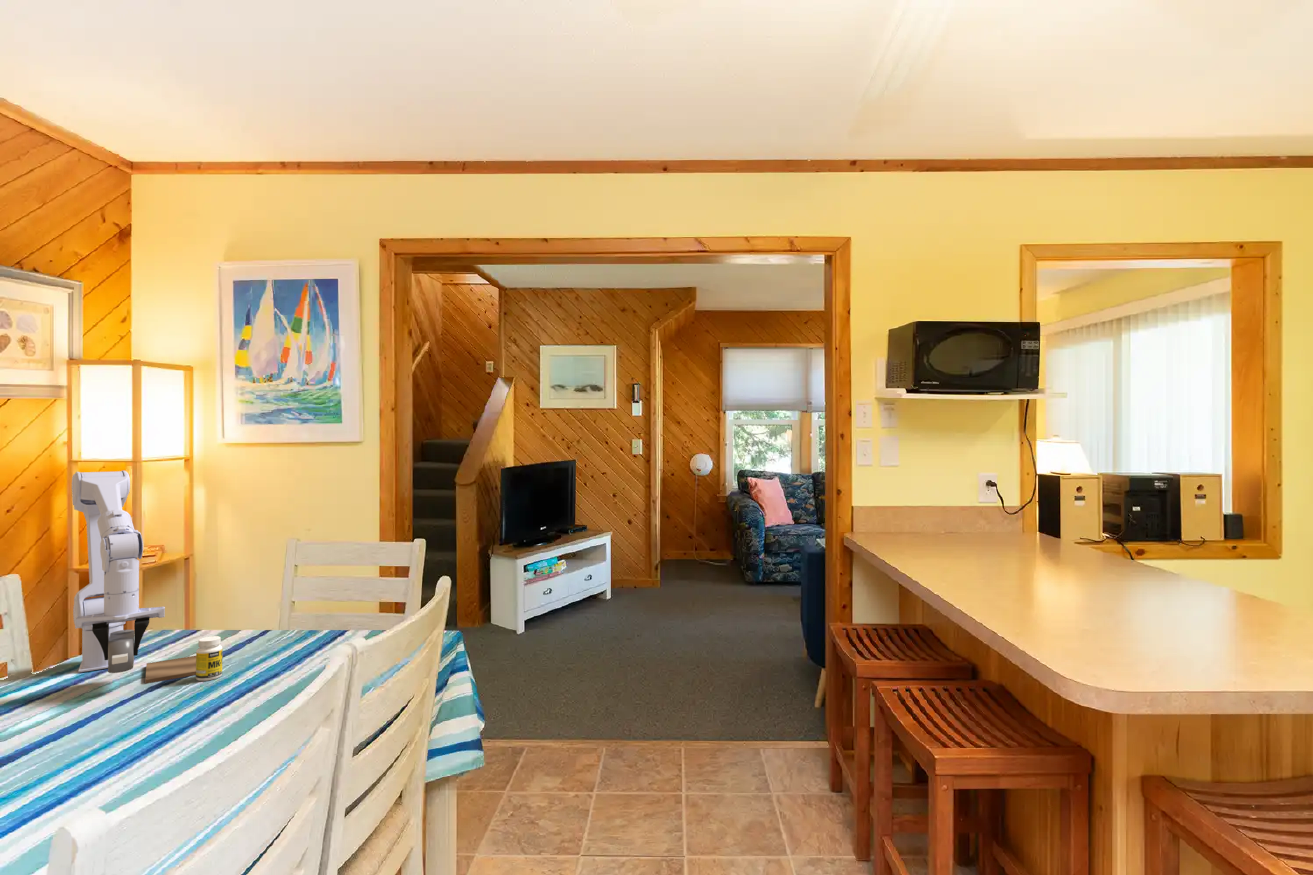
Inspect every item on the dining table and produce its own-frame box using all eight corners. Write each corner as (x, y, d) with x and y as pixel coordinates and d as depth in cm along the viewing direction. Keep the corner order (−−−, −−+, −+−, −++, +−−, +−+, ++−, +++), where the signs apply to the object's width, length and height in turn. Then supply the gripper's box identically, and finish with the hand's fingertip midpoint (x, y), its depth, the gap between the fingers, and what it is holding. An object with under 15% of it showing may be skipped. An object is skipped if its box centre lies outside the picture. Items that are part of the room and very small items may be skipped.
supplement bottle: (209, 682, 142) (209, 642, 142) (190, 680, 143) (190, 641, 143) (227, 674, 146) (227, 635, 146) (209, 672, 147) (209, 634, 147)
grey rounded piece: (110, 659, 143) (110, 631, 143) (134, 656, 145) (134, 628, 145) (106, 677, 132) (106, 646, 132) (132, 673, 135) (132, 643, 135)
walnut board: (146, 666, 151) (146, 663, 151) (210, 656, 158) (210, 653, 158) (145, 683, 141) (145, 679, 141) (213, 671, 148) (213, 668, 148)
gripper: (73, 599, 132) (73, 668, 132) (164, 590, 141) (164, 654, 141) (77, 593, 138) (77, 659, 138) (164, 584, 146) (164, 646, 146)
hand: (121, 656), depth 140 cm, fingers closed on grey rounded piece, 4 cm apart
